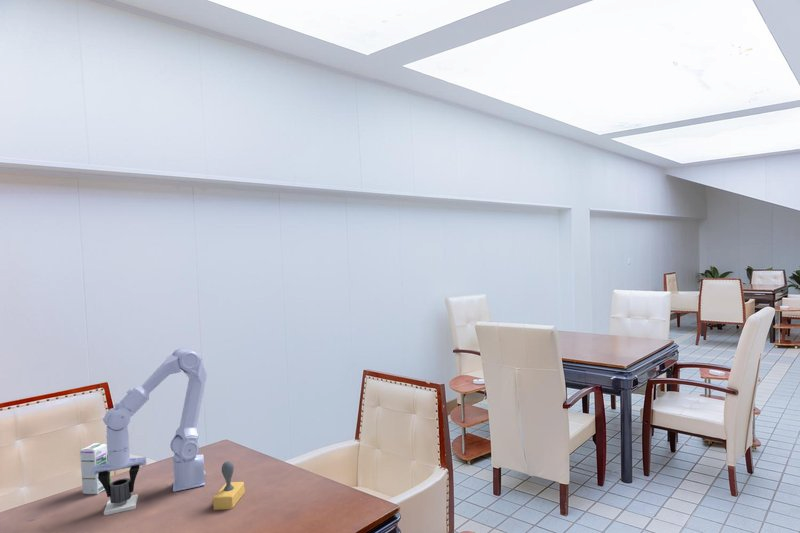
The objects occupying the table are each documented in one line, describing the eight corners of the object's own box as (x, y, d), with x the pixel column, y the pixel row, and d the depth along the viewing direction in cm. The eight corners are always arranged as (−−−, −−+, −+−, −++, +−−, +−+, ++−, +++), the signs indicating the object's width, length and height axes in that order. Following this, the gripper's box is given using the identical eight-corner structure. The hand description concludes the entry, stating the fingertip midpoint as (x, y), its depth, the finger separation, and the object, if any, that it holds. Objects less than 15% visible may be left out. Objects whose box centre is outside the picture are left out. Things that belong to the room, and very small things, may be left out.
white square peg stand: (137, 497, 153) (136, 481, 153) (135, 508, 145) (134, 492, 145) (108, 503, 150) (107, 487, 150) (104, 515, 142) (103, 498, 142)
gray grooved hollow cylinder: (133, 493, 150) (132, 477, 150) (127, 501, 145) (126, 485, 145) (114, 496, 149) (113, 479, 149) (107, 504, 144) (106, 487, 144)
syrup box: (97, 494, 156) (95, 449, 156) (81, 493, 157) (79, 449, 157) (111, 486, 162) (109, 442, 162) (96, 485, 163) (93, 442, 163)
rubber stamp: (226, 493, 152) (224, 455, 152) (245, 493, 152) (242, 454, 152) (213, 509, 142) (210, 468, 142) (232, 509, 142) (230, 468, 142)
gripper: (146, 439, 154) (148, 482, 154) (92, 448, 148) (95, 493, 148) (144, 446, 147) (147, 491, 147) (88, 456, 142) (90, 503, 142)
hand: (120, 493), depth 147 cm, fingers closed on gray grooved hollow cylinder, 5 cm apart
